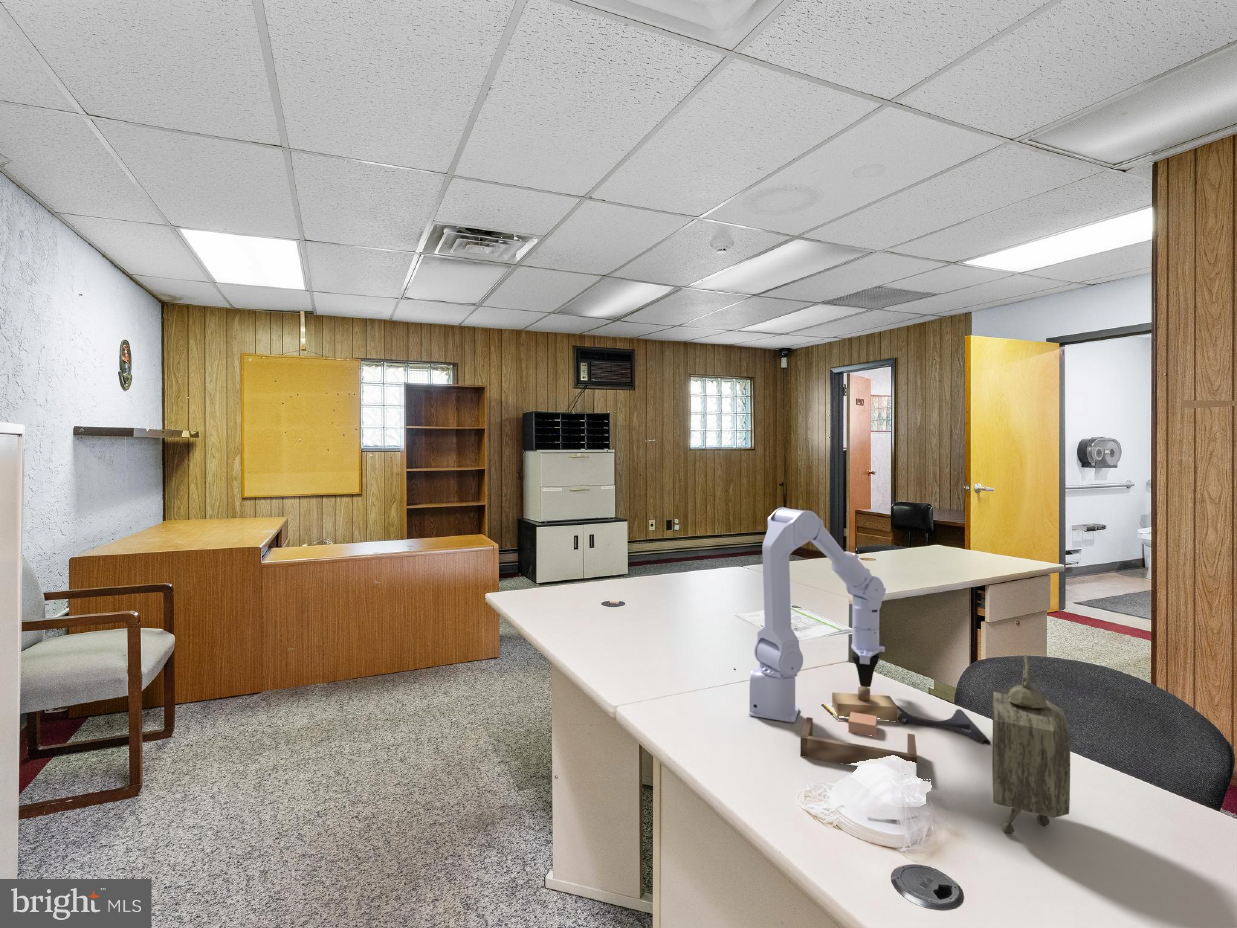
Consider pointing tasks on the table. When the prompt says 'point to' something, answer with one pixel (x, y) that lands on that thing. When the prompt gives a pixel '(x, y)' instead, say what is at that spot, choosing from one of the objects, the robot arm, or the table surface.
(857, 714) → the tile
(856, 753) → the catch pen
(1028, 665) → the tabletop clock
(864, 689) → the wooden box with knob
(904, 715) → the bracket
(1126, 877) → the table surface
